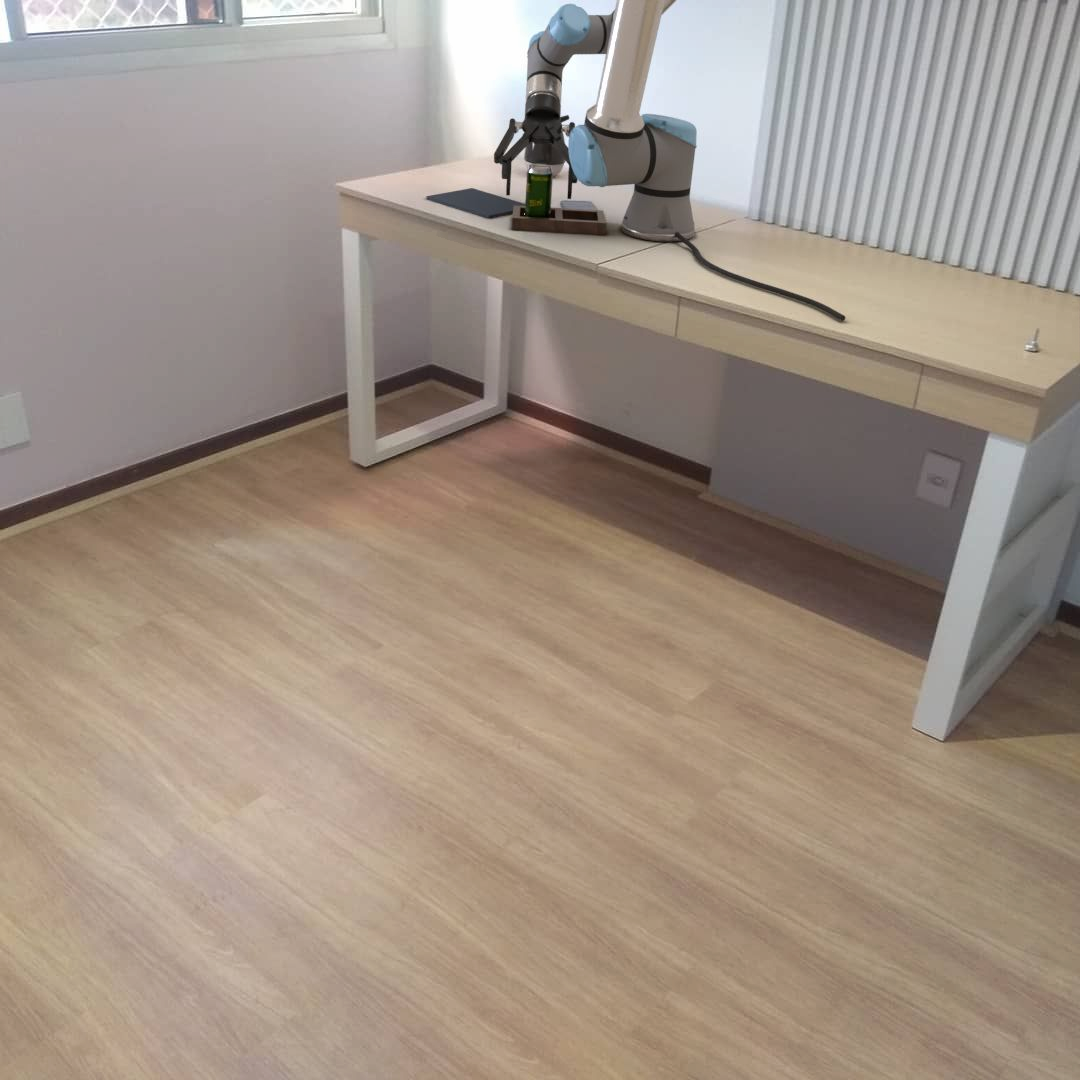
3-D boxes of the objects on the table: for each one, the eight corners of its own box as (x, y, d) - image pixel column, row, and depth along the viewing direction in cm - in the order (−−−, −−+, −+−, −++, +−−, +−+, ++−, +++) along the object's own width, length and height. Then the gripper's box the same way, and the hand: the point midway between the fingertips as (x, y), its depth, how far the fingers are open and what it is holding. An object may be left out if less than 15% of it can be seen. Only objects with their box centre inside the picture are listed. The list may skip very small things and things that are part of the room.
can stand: (602, 222, 250) (603, 210, 248) (604, 235, 240) (605, 223, 239) (513, 217, 249) (513, 205, 248) (511, 229, 240) (512, 217, 239)
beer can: (548, 221, 247) (551, 164, 241) (551, 228, 243) (554, 169, 237) (523, 220, 247) (526, 163, 241) (525, 227, 242) (528, 168, 236)
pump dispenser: (565, 181, 281) (569, 115, 273) (522, 178, 281) (525, 112, 273) (565, 171, 290) (569, 108, 282) (524, 169, 290) (527, 105, 282)
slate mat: (534, 209, 256) (534, 206, 256) (488, 218, 247) (488, 215, 247) (471, 190, 268) (471, 187, 267) (426, 198, 258) (426, 196, 258)
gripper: (599, 117, 249) (595, 206, 243) (486, 110, 248) (480, 200, 242) (602, 95, 241) (599, 187, 236) (485, 88, 241) (479, 180, 235)
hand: (538, 193), depth 239 cm, fingers open, 12 cm apart
